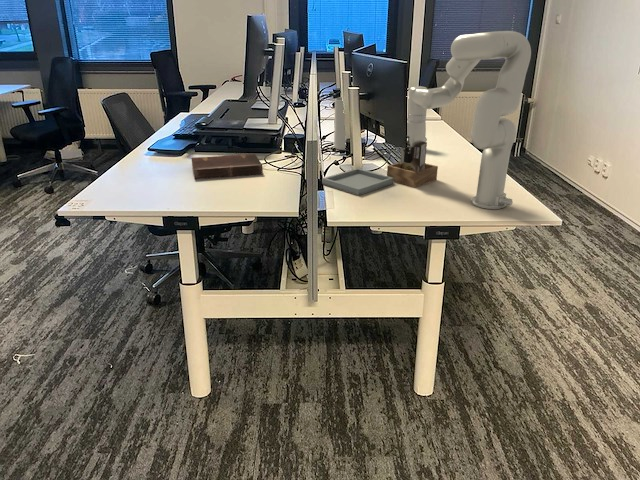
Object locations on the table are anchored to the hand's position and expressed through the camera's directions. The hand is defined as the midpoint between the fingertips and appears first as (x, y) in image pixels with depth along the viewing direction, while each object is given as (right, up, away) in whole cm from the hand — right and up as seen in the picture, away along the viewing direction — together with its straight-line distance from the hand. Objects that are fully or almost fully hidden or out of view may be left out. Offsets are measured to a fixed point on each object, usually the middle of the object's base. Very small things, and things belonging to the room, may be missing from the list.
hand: (413, 160), depth 219 cm
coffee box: (0, -8, +4) cm, 9 cm away
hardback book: (-81, -3, +14) cm, 82 cm away
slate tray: (-23, -10, -2) cm, 26 cm away
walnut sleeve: (0, -8, +3) cm, 8 cm away
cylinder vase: (-25, +15, +54) cm, 61 cm away
